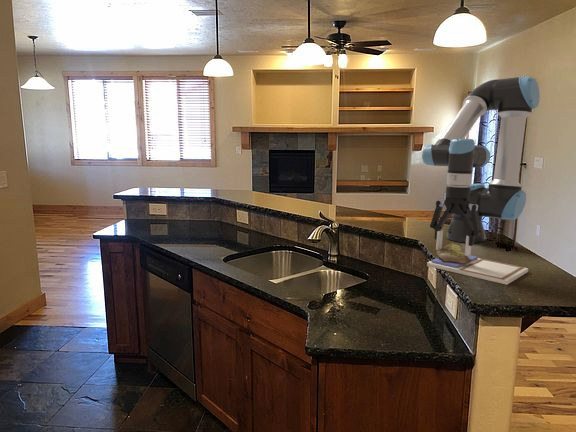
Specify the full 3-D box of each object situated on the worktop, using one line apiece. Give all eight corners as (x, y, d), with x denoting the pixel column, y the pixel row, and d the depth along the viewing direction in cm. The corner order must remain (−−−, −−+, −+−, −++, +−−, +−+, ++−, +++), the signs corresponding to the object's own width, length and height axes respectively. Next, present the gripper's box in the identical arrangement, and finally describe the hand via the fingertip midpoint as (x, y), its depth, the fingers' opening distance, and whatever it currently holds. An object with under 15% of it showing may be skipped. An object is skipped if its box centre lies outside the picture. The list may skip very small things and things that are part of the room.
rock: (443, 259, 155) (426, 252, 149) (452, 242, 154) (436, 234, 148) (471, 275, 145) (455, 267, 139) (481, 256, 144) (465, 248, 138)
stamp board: (451, 255, 158) (451, 250, 158) (527, 271, 139) (528, 265, 139) (426, 265, 147) (427, 260, 146) (507, 284, 128) (507, 278, 128)
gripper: (422, 183, 148) (417, 247, 152) (487, 189, 132) (480, 260, 136) (433, 183, 153) (428, 244, 157) (497, 188, 137) (490, 256, 141)
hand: (452, 252), depth 147 cm, fingers closed on rock, 9 cm apart
